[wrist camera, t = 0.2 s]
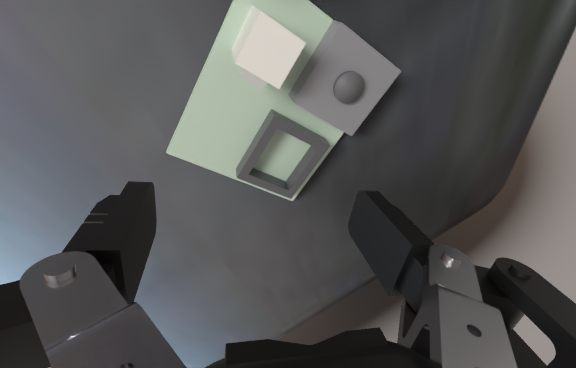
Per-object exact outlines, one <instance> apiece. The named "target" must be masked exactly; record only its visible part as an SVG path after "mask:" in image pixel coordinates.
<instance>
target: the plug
mask: <svg viewBox="0 0 576 368" xmlns="http://www.w3.org/2000/svg"><path fill="white" fill-rule="evenodd" d="M305 44H306V43H305V42H304V41H303V40H301V39H300V38H298V37H297V36H296V35H294V34H293V33H291V32H290V31H289V30H287V29H286V28H284V27H283V26H282V25H280V24H279V23H277V22H276V21H275V20H273V19H272V18H270V17H269V16H268V15H266V14H265V13H263V12H262V11H261V10H259V9H257V8H256V7H254V6H253V5H252V7H251V9H250V11H249V13H248V15H247V17H246V19H245V21H244V23H243V26H242V28H241V30H240V32H239V34H238V36H237V38H236V40H235V42H234V45H233V47H232V53H233V57H234V62H235V64H237V65H238V66H239V70H240V74H241V78H243V79H244V80H246V81H248V82H250V83H251V84H253V85H255V86H257V87H258V88H260V89H262V90H263V89H264V88H265V86H266V84H267V83H269V84H271V85H273V86H274V87H276V88H278V89H280V87H281V85H282V84H283V82H284V80H285V79H286V77H287V75H288V73H289V72H290V70H291V68H292V67H293V65H294V63H295V61H296V60H297V58H298V56H299V55H300V53H301V51H302V49H303V48H304V46H305Z"/></svg>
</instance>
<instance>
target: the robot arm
mask: <svg viewBox="0 0 576 368" xmlns="http://www.w3.org/2000/svg"><path fill="white" fill-rule="evenodd" d="M348 228H349V233H350V235H351V237H352V239H353V240H354V242H355V243H356V245H357V247H358V248H359V250H360V251H361V253H362V254H363V256H364V258H365V259H366V261H367V262H368V264H369V266H370V267H371V269H372V270H373V272H374V273H375V275H376V277H377V278H378V280H379V281H380V283H381V284H382V286H383V288H384V289H385V291H386V292H387V294H388V296H400V295H403V296H404V298H405V299H404V301H403V303H402V306H401V315H400V323H399V333H398V342H397V343H394V342H390V341H387V340H386V338H385V336H384V335H383V333H382V331H381V329H380V328H370V329H361V330H351V331H345V332H343V333H340V334H338V335H336V336H334V337H331V338H329V339H326V340H324V341H321V342H319V343H317V344H314V345H303V344H297V343H290V342H283V341H277V340H270V339H265V340H256V341H246V342H237V343H227V344H226V348H225V358H224V359H221V360H219V361H217V362H214V363H213V364H211V365H209V366H207V367H205V368H576V304H575V303H574V302H573V301H572V300H570V299H569V298H568V297H567V296H565V295H564V294H563V293H561V292H560V291H559V290H558V289H557V288H555V287H554V286H553V285H552V284H550V283H549V282H548V281H547V280H545V279H544V278H543V277H542V276H540V275H539V274H538V273H537V272H535V271H534V270H533V269H531V268H530V267H528V266H526V265H524V264H522V263H520V262H518V261H515V260H512V259H509V258H498V259H496V261H495V262H494V264H493V265H492V267H491V268H490V269H489V268H485V267H480V266H475V265H474V264H473V262H472V261H471V260H470V259H469V258H468V257H467V256H466V255H464V254H463V253H462V252H460V251H458V250H456V249H454V248H452V247H449V246H446V245H440V244H434V243H433V242H432V241H431V240H430V239H429V238H428V237H427V236H426V235H425V234H424V233H423V232H422V231H421V230H420V229H419V228H418V227H417V226H416V225H414V223H413V222H412V221H411V220H410V219H407V216H406V215H405V214H404V213H403V212H402V211H401V210H400V209H398V208H397V207H395V206H393V205H392V204H391V203H390V202H389V201H388V200H387V199H386V198H385V197H384V196H383V195H382V194H381V193H380V192H378V191H359V192H358V194H357V196H356V199H355V203H354V206H353V209H352V212H351V216H350V219H349V223H348ZM155 233H156V206H155V192H154V185H153V183H152V182H130V181H129V182H128V183H127V184H126V186H125V188H124V189H123V191H122V192H121V194H120V195H110V196H108V197H106V198H105V199H103V200H102V201H100V202H98V203H97V204H96V206H95V207H94V208H93V210H92V211H91V213H90V215H88V217H87V218H86V219H85V221H84V224H82V225H81V226H80V228H79V229H78V231H77V232H76V233H75V235H74V236H73V238H72V239H71V240H70V242H69V243H68V244H67V246H66V247H65V249H64V250H63V251H62V253H59V254H56V255H52V256H50V257H47V258H45V259H43V260H41V261H39V262H37V263H35V264H34V265H33V266H31V267H30V268H29V269H28V270H27V271H26V272H25V273H24V274H23V275H22V277H21V279H20V280H18V281H15V282H11V283H7V284H2V285H0V368H48V367H51V368H186V366H185V365H184V364H183V362H182V361H181V360H180V358H179V357H178V356H177V354H176V353H175V352H174V350H173V349H172V348H171V346H170V345H169V344H168V342H167V341H166V340H165V338H164V337H163V335H162V334H161V333H160V331H159V330H158V329H157V327H156V326H155V325H154V323H153V322H152V321H151V319H150V318H149V317H148V315H147V314H146V313H145V311H144V310H143V309H142V307H141V306H140V305H139V304H138V303H136V302H134V299H135V296H136V293H137V290H138V287H139V283H140V280H141V277H142V274H143V271H144V268H145V265H146V262H147V259H148V256H149V253H150V249H151V246H152V243H153V240H154V237H155ZM524 314H525V315H526V316H527V317H528V318H529V319H530V320H531V321H532V322H533V323H534V324H535V325H536V326H537V327H538V328H539V329H540V330H541V331H542V332H543V333H544V334H546V335H547V336H548V337H549V339H550V340H551V341H552V343H553V344H554V347H555V350H556V356H555V358H554V359H553V360H552V361H551V362H550V363H549V365H548V366H546V364H545V363H544V362H543V361H542V360H541V359H540V358H539V357H538V356H537V355H536V354H535V353H534V351H532V349H531V348H530V347H529V346H528V345H527V344H526V343H525V342H524V341H523V340H522V339H521V337H520V336H519V335H518V334H517V333H516V332H515V331H514V330H513V328H514V327H515V325H516V324H517V323H518V322H519V321H520V319H521V318H522V317H523V316H524Z"/></svg>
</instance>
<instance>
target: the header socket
mask: <svg viewBox="0 0 576 368" xmlns="http://www.w3.org/2000/svg"><path fill="white" fill-rule="evenodd" d="M277 128H278V129H280V130H282V131H284V132H286V133H288V134H290V135H292V136H294V137H296V138H298V139H299V140H301V141H303V142H305V143H307V144H309V145H311V146H310V148H309V149H308V150H307V152H306V153H305V155H304V156H303V157H302V159H301V160H300V162H299V163H298V165H297V166H296V167H295V169H294V170H293V172H292V173H291V175H290V176H289V177H288V179H287V180H286V181H284V180H281V179H279V178H276V177H274V176H272V175H269V174H267V173H264V172H262V171H259V170H257V169H255V168H253V167H254V165H255V163H256V162H257V160H258V159H259V157H260V155H261V154H262V152H263V151H264V149H265V147H266V146H267V144H268V142H269V141H270V139H271V138H272V136H273V134H274V133H275V131H276V130H277ZM329 147H330V144H329V143H328V142H327V140H326V139H325V138H324V137H322V136H320V135H319V134H317V133H315V132H313V131H311V130H309V129H307V128H306V127H304V126H302V125H300V124H298V123H296V122H295V121H293V120H291V119H289V118H287V117H285V116H283V115H282V114H280V113H278V112H276V111H274V110H272V109H271V110H270V112H269V113H268V115H267V117H266V118H265V120H264V122H263V123H262V125H261V127H260V129H259V130H258V132H257V134H256V135H255V137H254V139H253V140H252V142H251V144H250V145H249V147H248V149H247V151H246V152H245V154H244V156H243V157H242V159H241V161H240V162H239V164H238V166H237V168H236V176H237V178H238V179H240V180H243V181H246V182H248V183H251V184H253V185H256V186H259V187H261V188H264V189H267V190H269V191H272V192H274V193H277V194H280V195H282V196H285V197H287V198H290V199H292V197H293V196H294V194H295V193H296V192H297V190H298V189H299V188H300V186H301V185H302V184H303V182H304V181H305V180H306V178H307V177H308V176H309V174H310V173H311V171H312V170H313V169H314V167H315V166H316V165H317V163H318V162H319V161H320V159H321V158H322V157H323V155H324V154H325V152H326V151H327V150H328V148H329Z"/></svg>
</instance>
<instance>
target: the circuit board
mask: <svg viewBox="0 0 576 368" xmlns="http://www.w3.org/2000/svg"><path fill="white" fill-rule="evenodd" d="M252 5H253V6H254V7H256V8H257V9H259V10H261V11H262V12H263V13H265V14H266V15H268V16H269V17H270V18H272V19H273V20H275V21H276V22H277V23H279V24H280V25H282V26H283V27H284V28H286V29H287V30H289V31H290V32H291V33H293V34H294V35H296V36H297V37H298V38H300V39H301V40H303V41H304V42H305V43H306V44H305V46H304V48H303V49H302V51H301V53H300V55H299V56H298V58H297V60H296V61H295V63H294V65H293V67H292V68H291V70H290V72H289V73H288V75H287V77H286V79H285V80H284V82H283V84H282V85H281V87H280V89H278V88H276V87H274V86H273V85H271V84H269V83H267V84H266V86H265V88H264V89H263V90H262V89H260V88H258V87H257V86H255V85H253V84H251V83H250V82H248V81H246V80H244V79H243V78H241V74H240V70H239V66H238V65H237V64H235V62H234V57H233V53H232V47H233V45H234V42H235V40H236V38H237V36H238V34H239V32H240V30H241V28H242V26H243V23H244V21H245V19H246V17H247V15H248V13H249V11H250V9H251V7H252ZM400 72H401V70H399V69H398V68H397V67H396V66H394V65H393V64H392V63H391V62H390V61H388V60H387V59H386V58H385V57H383V56H382V55H381V54H380V53H379V52H377V51H376V50H375V49H374V48H372V47H371V46H370V45H369V44H368V43H366V42H365V41H364V40H363V39H361V38H360V37H359V36H358V35H357V34H355V33H354V32H353V31H352V30H350V29H349V28H348V27H347V26H346V25H344V24H343V23H341V22H338V21H335V20H332V19H331V18H330V17H329V16H328V15H326V14H325V13H324V12H323V11H321V10H320V9H319V8H318V7H316V6H315V5H314V4H313V3H311V2H310V1H309V0H233V1H232V4H231V6H230V8H229V10H228V13H227V15H226V17H225V19H224V22H223V24H222V26H221V28H220V31H219V33H218V35H217V37H216V40H215V42H214V44H213V46H212V49H211V51H210V53H209V55H208V58H207V60H206V62H205V65H204V67H203V69H202V71H201V74H200V76H199V78H198V80H197V83H196V85H195V87H194V89H193V92H192V94H191V96H190V98H189V101H188V103H187V105H186V107H185V110H184V112H183V114H182V116H181V119H180V121H179V123H178V125H177V128H176V130H175V132H174V135H173V137H172V139H171V141H170V144H169V146H168V148H167V151H166V153H167V154H170V155H172V156H175V157H178V158H180V159H183V160H186V161H188V162H191V163H194V164H196V165H199V166H201V167H204V168H207V169H209V170H212V171H215V172H217V173H220V174H222V175H225V176H228V177H230V178H233V179H236V180H238V181H241V182H244V183H246V184H249V185H251V186H254V187H257V188H259V189H262V190H265V191H267V192H270V193H272V194H275V195H278V196H280V197H283V198H286V199H288V200H291V201H293V200H294V199H295V198H296V196H297V195H298V194H299V192H300V191H301V190H302V188H303V187H304V186H305V184H306V183H307V182H308V180H309V179H310V178H311V176H312V175H313V173H314V172H315V171H316V169H317V168H318V167H319V165H320V164H321V163H322V161H323V160H324V159H325V157H326V156H327V155H328V153H329V152H330V151H331V149H332V148H333V147H334V145H335V144H336V143H337V141H338V140H339V139H340V137H341V136H342V135H343V133H344V132H345V133H347V134H348V135H350V136H352V135H353V134H354V133H355V131H356V130H357V129H358V127H359V126H360V125H361V123H362V122H363V121H364V120H365V118H366V117H367V116H368V114H369V113H370V112H371V110H372V109H373V108H374V106H375V105H376V104H377V102H378V101H379V100H380V99H381V97H382V96H383V95H384V93H385V92H386V91H387V89H388V88H389V87H390V85H391V84H392V83H393V82H394V80H395V79H396V78H397V76H398V75H399V74H400ZM271 109H272V110H274V111H276V112H278V113H280V114H282V115H283V116H285V117H287V118H289V119H291V120H293V121H295V122H296V123H298V124H300V125H302V126H304V127H306V128H307V129H309V130H311V131H313V132H315V133H317V134H319V135H320V136H322V137H324V138H325V139H326V140H327V142H328V143H329V144H330V147H329V148H328V150H327V151H326V152H325V154H324V155H323V157H322V158H321V159H320V161H319V162H318V163H317V165H316V166H315V167H314V169H313V170H312V171H311V173H310V174H309V176H308V177H307V178H306V180H305V181H304V182H303V184H302V185H301V186H300V188H299V189H298V190H297V192H296V193H295V194H294V196H293V197H292V199H290V198H287V197H285V196H282V195H280V194H277V193H274V192H272V191H269V190H267V189H264V188H261V187H259V186H256V185H253V184H251V183H248V182H246V181H243V180H240V179H238V178H237V176H236V168H237V166H238V164H239V162H240V161H241V159H242V157H243V156H244V154H245V152H246V151H247V149H248V147H249V145H250V144H251V142H252V140H253V139H254V137H255V135H256V134H257V132H258V130H259V129H260V127H261V125H262V123H263V122H264V120H265V118H266V117H267V115H268V113H269V112H270V110H271ZM310 146H311V145H309V144H307V143H305V142H303V141H301V140H299V139H298V138H296V137H294V136H292V135H290V134H288V133H286V132H284V131H282V130H280V129H278V128H277V130H276V131H275V133H274V134H273V136H272V138H271V139H270V141H269V142H268V144H267V146H266V147H265V149H264V151H263V152H262V154H261V155H260V157H259V159H258V160H257V162H256V163H255V165H254V167H253V168H255V169H257V170H259V171H262V172H264V173H267V174H269V175H272V176H274V177H276V178H279V179H281V180H284V181H286V180H287V179H288V177H289V176H290V175H291V173H292V172H293V170H294V169H295V167H296V166H297V165H298V163H299V162H300V160H301V159H302V157H303V156H304V155H305V153H306V152H307V150H308V149H309V148H310Z"/></svg>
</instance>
